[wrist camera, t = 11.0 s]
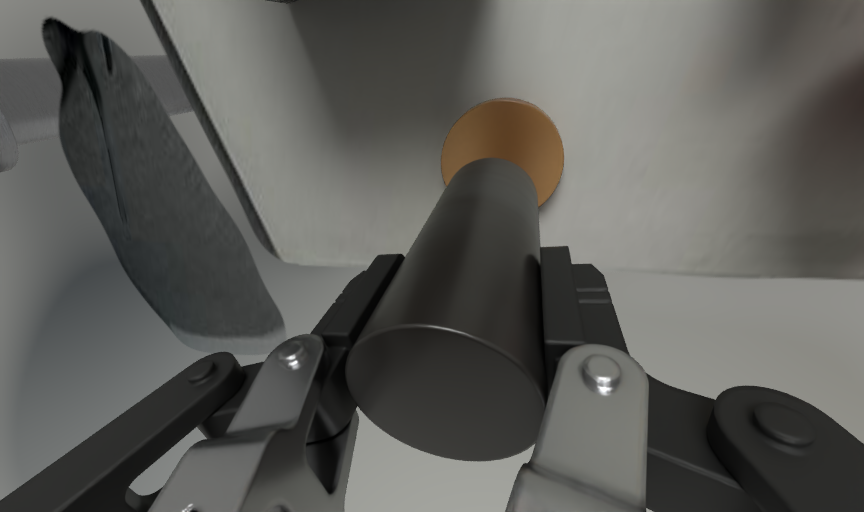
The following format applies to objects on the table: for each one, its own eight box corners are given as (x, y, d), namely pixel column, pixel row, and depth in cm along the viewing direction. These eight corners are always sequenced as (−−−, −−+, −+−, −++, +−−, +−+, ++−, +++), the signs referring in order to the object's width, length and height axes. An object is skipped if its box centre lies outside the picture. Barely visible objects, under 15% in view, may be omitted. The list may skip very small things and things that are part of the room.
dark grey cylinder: (453, 244, 16) (375, 449, 8) (438, 163, 14) (314, 323, 6) (539, 240, 15) (551, 476, 7) (535, 150, 13) (546, 328, 5)
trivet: (453, 218, 23) (451, 224, 22) (434, 109, 20) (430, 112, 19) (562, 209, 21) (564, 216, 20) (562, 85, 17) (563, 87, 17)
